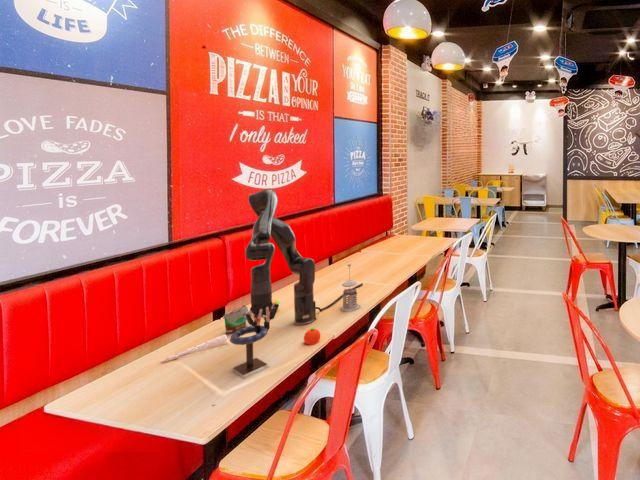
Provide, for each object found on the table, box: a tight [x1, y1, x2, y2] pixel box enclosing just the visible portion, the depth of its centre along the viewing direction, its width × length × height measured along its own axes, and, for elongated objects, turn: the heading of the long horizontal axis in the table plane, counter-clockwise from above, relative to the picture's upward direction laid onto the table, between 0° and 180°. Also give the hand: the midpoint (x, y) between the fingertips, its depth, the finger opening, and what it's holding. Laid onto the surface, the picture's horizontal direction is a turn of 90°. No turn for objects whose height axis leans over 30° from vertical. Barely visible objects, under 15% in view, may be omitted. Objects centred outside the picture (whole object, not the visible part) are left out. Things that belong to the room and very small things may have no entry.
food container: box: [222, 304, 249, 335], centre depth 191 cm, size 12×6×10 cm, turn 168°
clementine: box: [303, 327, 321, 345], centre depth 175 cm, size 8×7×7 cm
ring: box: [229, 325, 268, 346], centre depth 154 cm, size 13×13×3 cm
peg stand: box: [232, 343, 268, 376], centre depth 154 cm, size 9×9×12 cm
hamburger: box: [269, 295, 281, 314], centre depth 212 cm, size 12×12×9 cm
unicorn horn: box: [159, 334, 228, 363], centre depth 168 cm, size 5×24×5 cm, turn 127°
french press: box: [340, 263, 360, 312], centre depth 215 cm, size 10×12×25 cm
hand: (262, 332), depth 158 cm, fingers closed on ring, 2 cm apart
